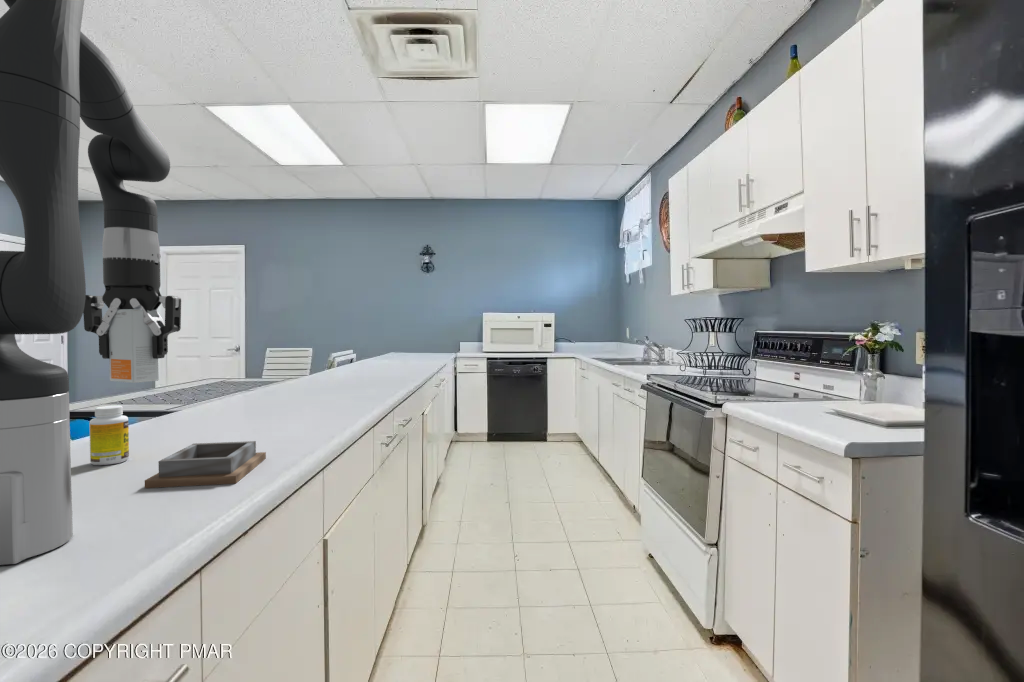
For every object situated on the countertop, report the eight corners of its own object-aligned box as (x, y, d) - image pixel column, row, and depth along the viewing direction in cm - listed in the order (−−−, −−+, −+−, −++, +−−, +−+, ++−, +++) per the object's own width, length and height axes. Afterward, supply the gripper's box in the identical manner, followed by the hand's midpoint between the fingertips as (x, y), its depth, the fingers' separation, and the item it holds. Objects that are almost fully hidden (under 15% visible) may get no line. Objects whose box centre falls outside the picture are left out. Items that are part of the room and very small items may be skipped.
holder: (235, 483, 78) (235, 460, 78) (144, 488, 76) (144, 464, 76) (265, 458, 93) (265, 439, 93) (190, 461, 91) (189, 441, 91)
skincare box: (108, 382, 81) (106, 309, 81) (135, 379, 85) (134, 310, 85) (133, 383, 79) (131, 308, 78) (160, 380, 83) (158, 309, 82)
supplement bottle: (130, 462, 90) (128, 407, 90) (90, 468, 87) (88, 410, 86) (128, 456, 94) (127, 403, 94) (90, 461, 91) (89, 406, 91)
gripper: (66, 254, 77) (69, 360, 77) (165, 256, 78) (167, 359, 79) (101, 261, 84) (103, 357, 85) (190, 262, 86) (192, 356, 86)
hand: (134, 358), depth 82 cm, fingers closed on skincare box, 7 cm apart
